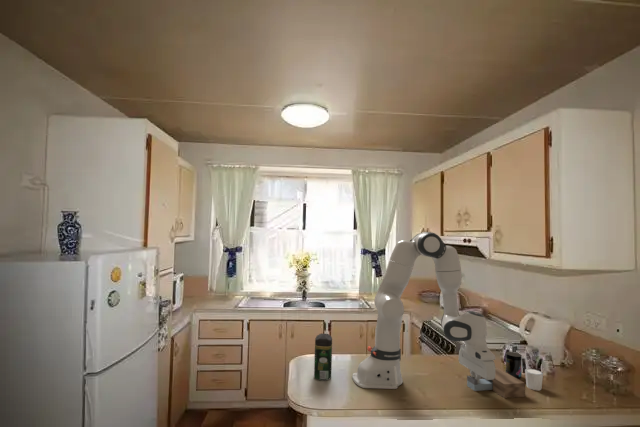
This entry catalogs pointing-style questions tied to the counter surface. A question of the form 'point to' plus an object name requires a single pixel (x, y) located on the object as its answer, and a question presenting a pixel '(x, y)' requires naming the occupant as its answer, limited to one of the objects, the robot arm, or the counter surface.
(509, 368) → the supplement container
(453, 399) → the counter surface
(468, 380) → the blue-grey l-shaped block
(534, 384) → the white cylinder
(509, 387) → the wooden bridge block
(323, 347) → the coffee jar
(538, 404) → the counter surface
